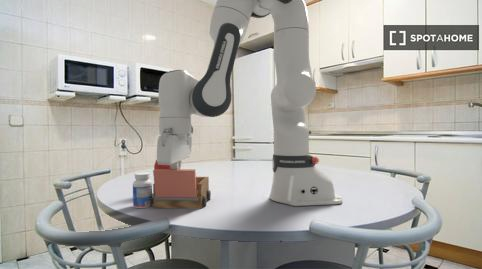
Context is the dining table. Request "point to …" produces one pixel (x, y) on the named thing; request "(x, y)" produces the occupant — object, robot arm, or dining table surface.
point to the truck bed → (202, 195)
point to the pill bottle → (142, 191)
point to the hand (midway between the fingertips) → (176, 176)
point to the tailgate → (175, 185)
